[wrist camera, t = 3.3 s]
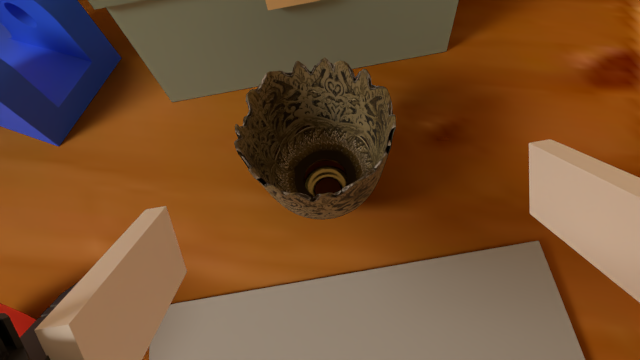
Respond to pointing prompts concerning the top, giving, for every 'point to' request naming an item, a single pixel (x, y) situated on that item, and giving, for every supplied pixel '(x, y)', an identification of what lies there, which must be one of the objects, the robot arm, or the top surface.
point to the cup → (317, 136)
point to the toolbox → (272, 37)
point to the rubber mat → (386, 315)
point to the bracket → (49, 66)
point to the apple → (18, 319)
